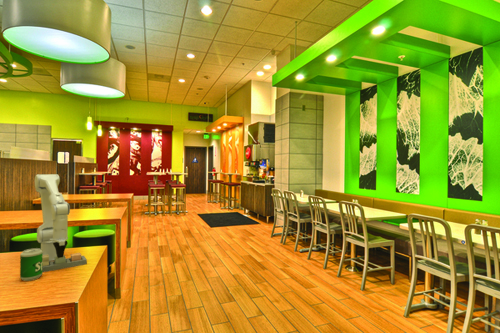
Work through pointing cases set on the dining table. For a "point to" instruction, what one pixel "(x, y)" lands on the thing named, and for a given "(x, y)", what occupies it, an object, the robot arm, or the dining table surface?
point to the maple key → (45, 260)
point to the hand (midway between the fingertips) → (60, 257)
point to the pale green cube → (60, 260)
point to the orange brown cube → (75, 257)
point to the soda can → (31, 264)
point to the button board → (64, 264)
